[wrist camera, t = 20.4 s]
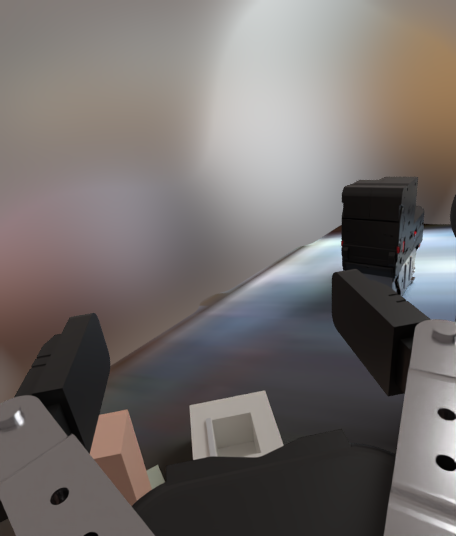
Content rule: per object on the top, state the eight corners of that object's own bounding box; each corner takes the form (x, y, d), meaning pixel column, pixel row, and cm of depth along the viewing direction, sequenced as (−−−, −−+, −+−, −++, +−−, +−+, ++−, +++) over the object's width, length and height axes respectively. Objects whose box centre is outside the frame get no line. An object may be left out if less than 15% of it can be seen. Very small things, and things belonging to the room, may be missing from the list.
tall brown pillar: (120, 508, 41) (86, 417, 35) (155, 501, 41) (127, 409, 35) (113, 558, 36) (73, 463, 30) (153, 549, 36) (120, 453, 31)
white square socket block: (196, 438, 49) (189, 403, 46) (268, 423, 50) (264, 388, 47) (203, 531, 38) (194, 492, 35) (295, 510, 39) (292, 470, 36)
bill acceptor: (420, 273, 84) (433, 164, 74) (392, 321, 68) (403, 190, 58) (374, 266, 90) (380, 164, 80) (338, 308, 74) (340, 188, 64)
